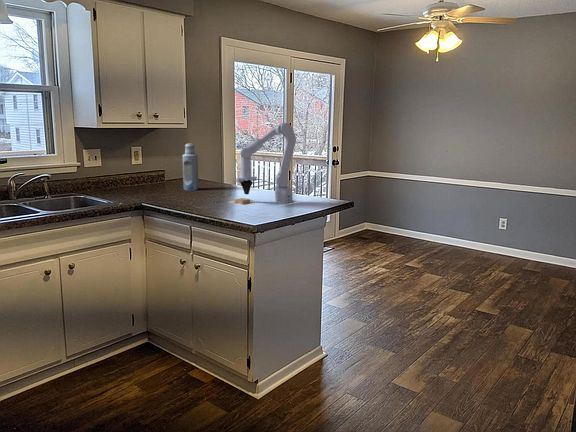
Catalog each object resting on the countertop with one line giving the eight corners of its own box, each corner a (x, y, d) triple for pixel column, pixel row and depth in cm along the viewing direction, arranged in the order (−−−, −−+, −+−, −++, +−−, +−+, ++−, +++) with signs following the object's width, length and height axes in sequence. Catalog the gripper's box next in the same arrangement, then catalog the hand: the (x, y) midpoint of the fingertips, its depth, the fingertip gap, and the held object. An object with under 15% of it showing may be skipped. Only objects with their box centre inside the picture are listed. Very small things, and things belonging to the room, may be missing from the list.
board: (260, 203, 272) (260, 201, 272) (244, 206, 263) (244, 204, 262) (243, 200, 281) (243, 198, 281) (226, 203, 271) (226, 201, 271)
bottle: (180, 190, 319) (178, 143, 313) (188, 188, 328) (186, 143, 322) (194, 190, 316) (192, 144, 310) (201, 188, 325) (199, 143, 319)
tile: (250, 199, 270) (242, 200, 265) (250, 202, 270) (242, 203, 266) (242, 198, 274) (234, 199, 269) (242, 201, 274) (234, 202, 269)
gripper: (250, 168, 277) (250, 191, 279) (231, 170, 266) (232, 194, 268) (259, 169, 272) (259, 193, 275) (240, 171, 261) (241, 196, 264)
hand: (246, 194), depth 271 cm, fingers closed
